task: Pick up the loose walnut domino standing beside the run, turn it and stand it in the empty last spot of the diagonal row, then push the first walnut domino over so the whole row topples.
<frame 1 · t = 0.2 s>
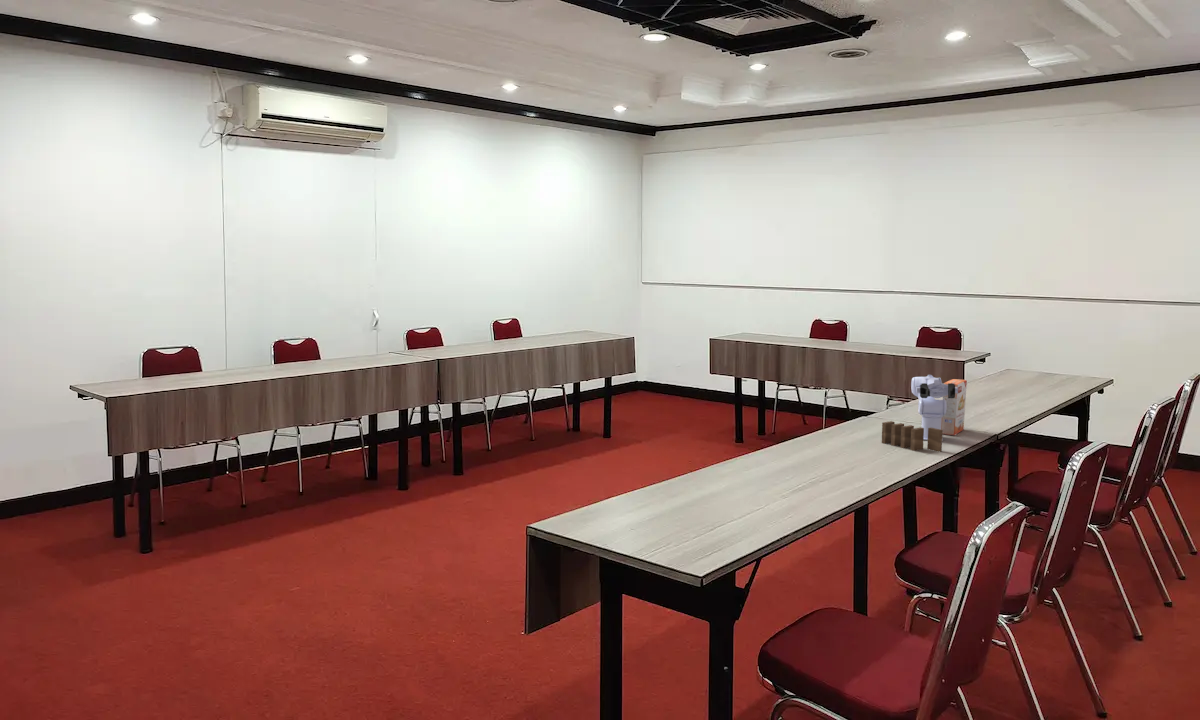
hand: (940, 393, 312), 21 cm above the table, tool horizontal, fingers open, 7 cm apart
domino 2: (906, 447, 319), on the table
domino 3: (897, 444, 323), on the table
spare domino: (934, 450, 315), on the table
domino 1: (916, 449, 316), on the table
domino 4: (887, 442, 327), on the table
cracker box: (952, 432, 344), on the table
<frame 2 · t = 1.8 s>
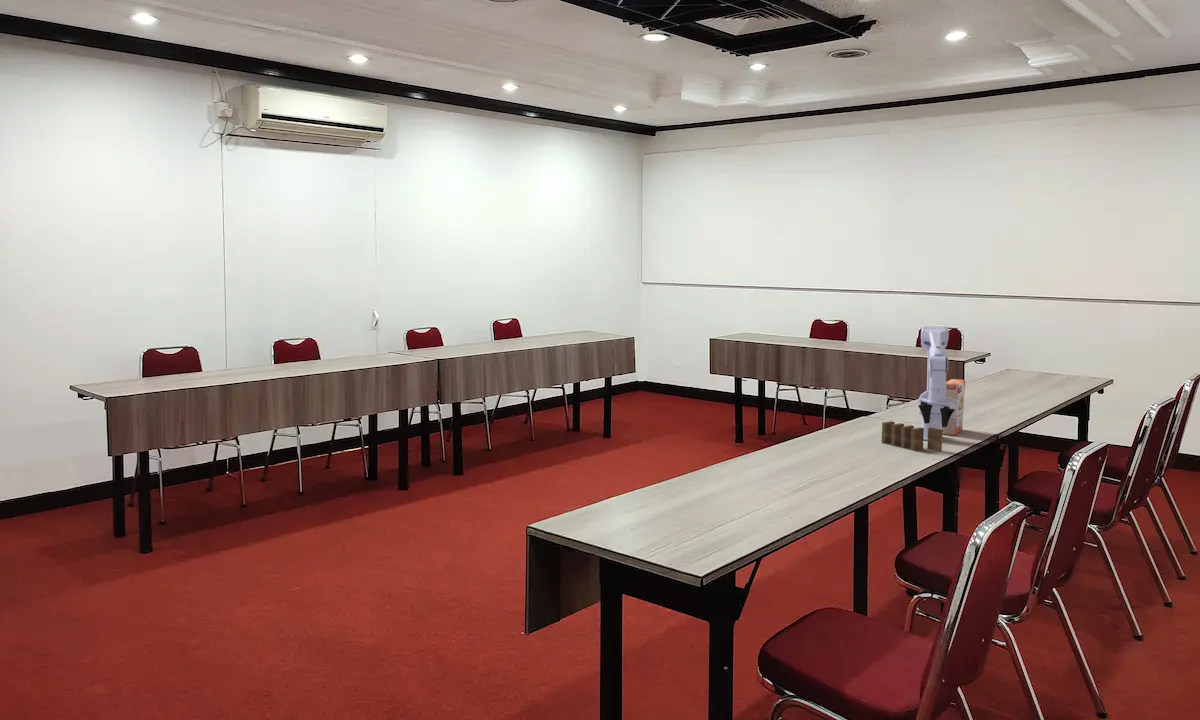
hand: (935, 425, 313), 9 cm above the table, tool pointing down, fingers open, 7 cm apart
nothing on the table moved.
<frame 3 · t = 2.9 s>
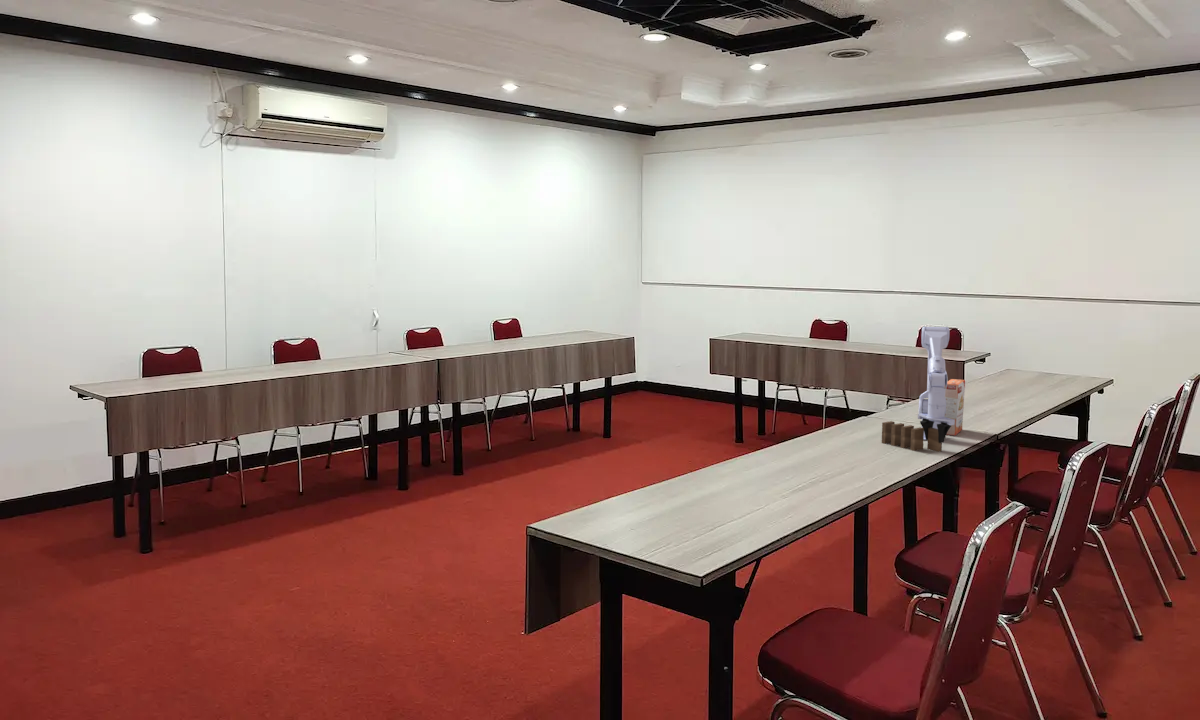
hand: (934, 441, 314), 3 cm above the table, tool pointing down, fingers closed on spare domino, 5 cm apart
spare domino: (934, 450, 315), on the table, touching gripper
everything else where it was.
when the fingers open (4 cm above the table, at t = 9.1 s): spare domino stays where it is, on the table.
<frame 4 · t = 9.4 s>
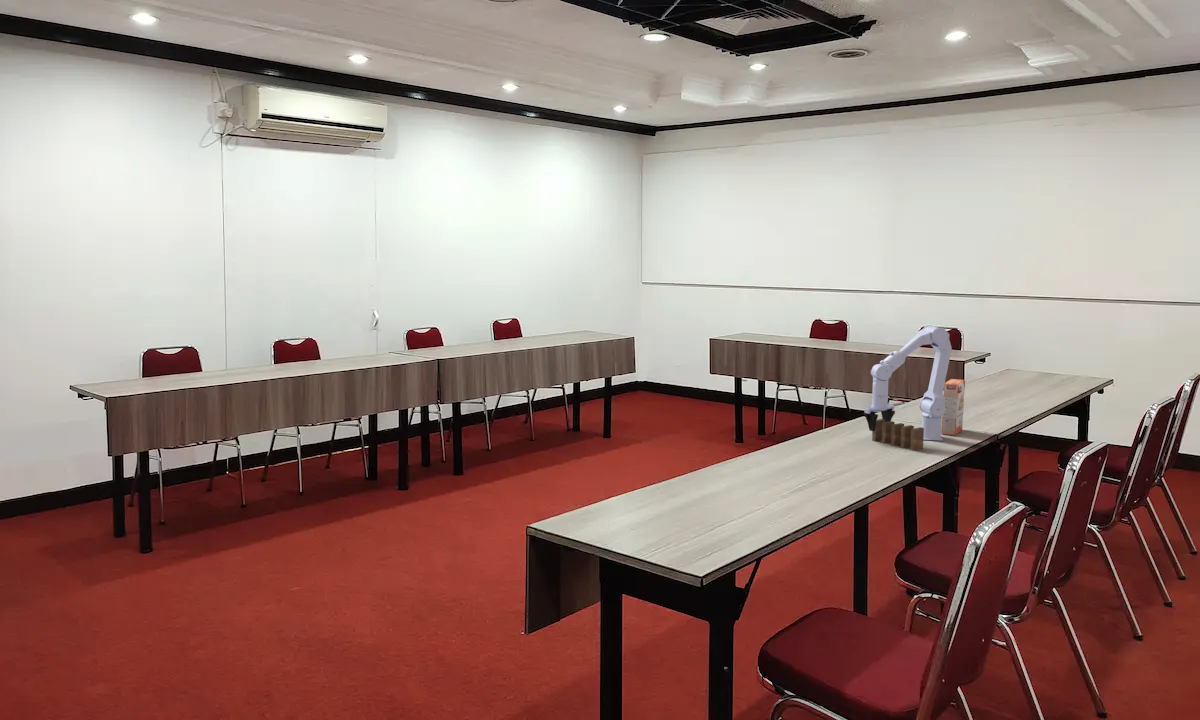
hand: (878, 429, 330), 4 cm above the table, tool pointing down, fingers open, 7 cm apart
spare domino: (878, 440, 331), on the table
everything else where it was.
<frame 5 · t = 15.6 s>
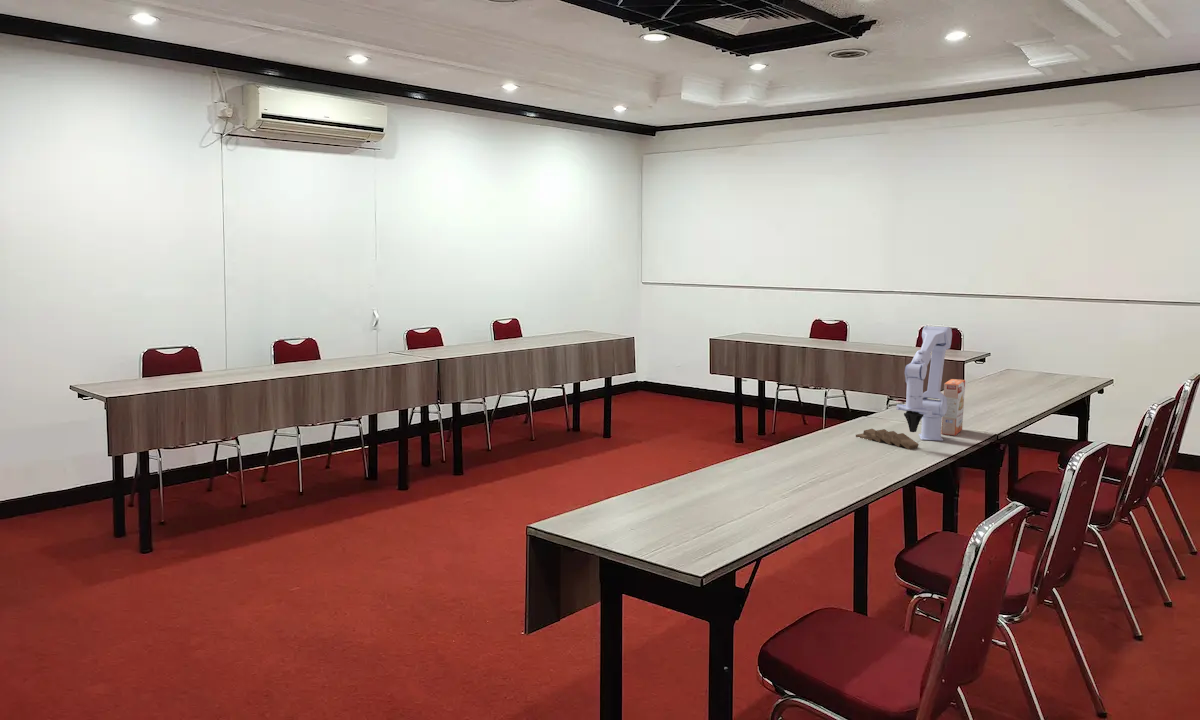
hand: (913, 431, 316), 6 cm above the table, tool pointing down, fingers closed
domino 2: (903, 444, 321), point 1 cm above the table, tilted 69°, touching domino 1, domino 3
domino 3: (894, 442, 324), point 1 cm above the table, tilted 70°, touching domino 2
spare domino: (876, 439, 332), on the table, tilted 90°
domino 1: (913, 446, 317), point 1 cm above the table, tilted 69°, touching domino 2
domino 4: (884, 439, 329), point 1 cm above the table, tilted 77°
everything else where it was.
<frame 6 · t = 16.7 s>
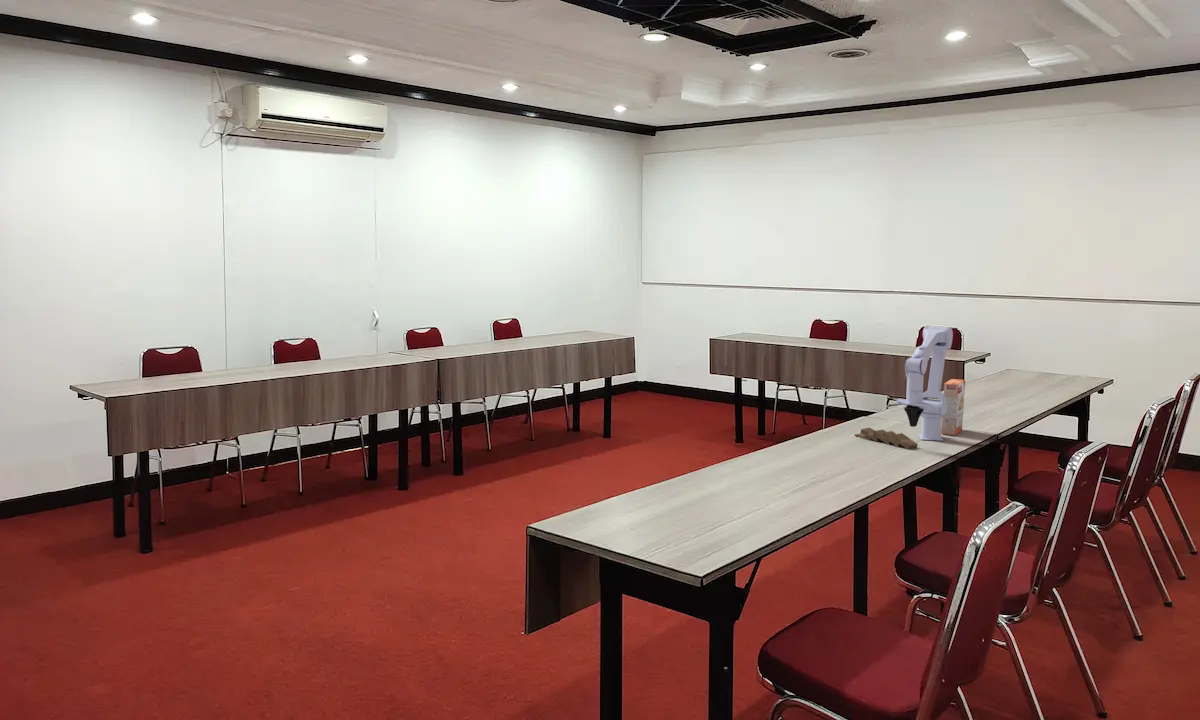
hand: (913, 426, 316), 8 cm above the table, tool pointing down, fingers closed
domino 3: (893, 442, 325), point 1 cm above the table, tilted 72°, touching domino 2, domino 4
domino 4: (880, 438, 329), point 1 cm above the table, tilted 75°, touching domino 3
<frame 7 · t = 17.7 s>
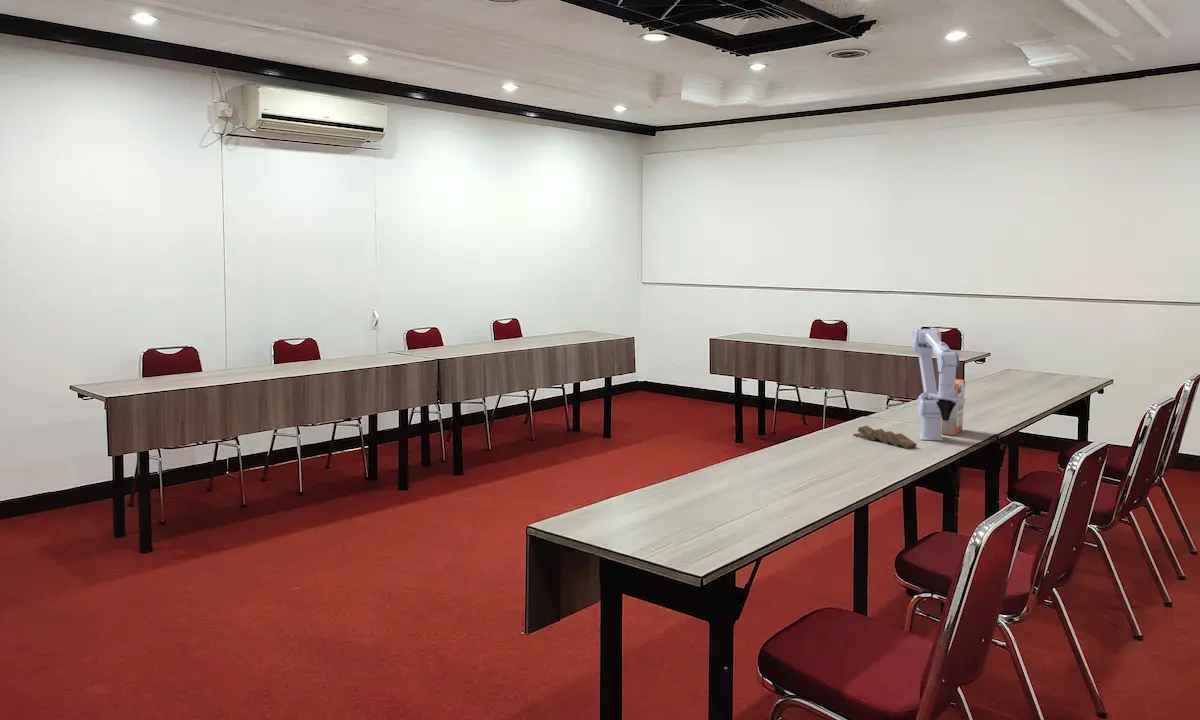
hand: (945, 420, 317), 10 cm above the table, tool pointing down, fingers closed
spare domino: (873, 438, 333), on the table, tilted 90°, touching domino 4
domino 4: (878, 437, 330), point 1 cm above the table, tilted 72°, touching domino 3, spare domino
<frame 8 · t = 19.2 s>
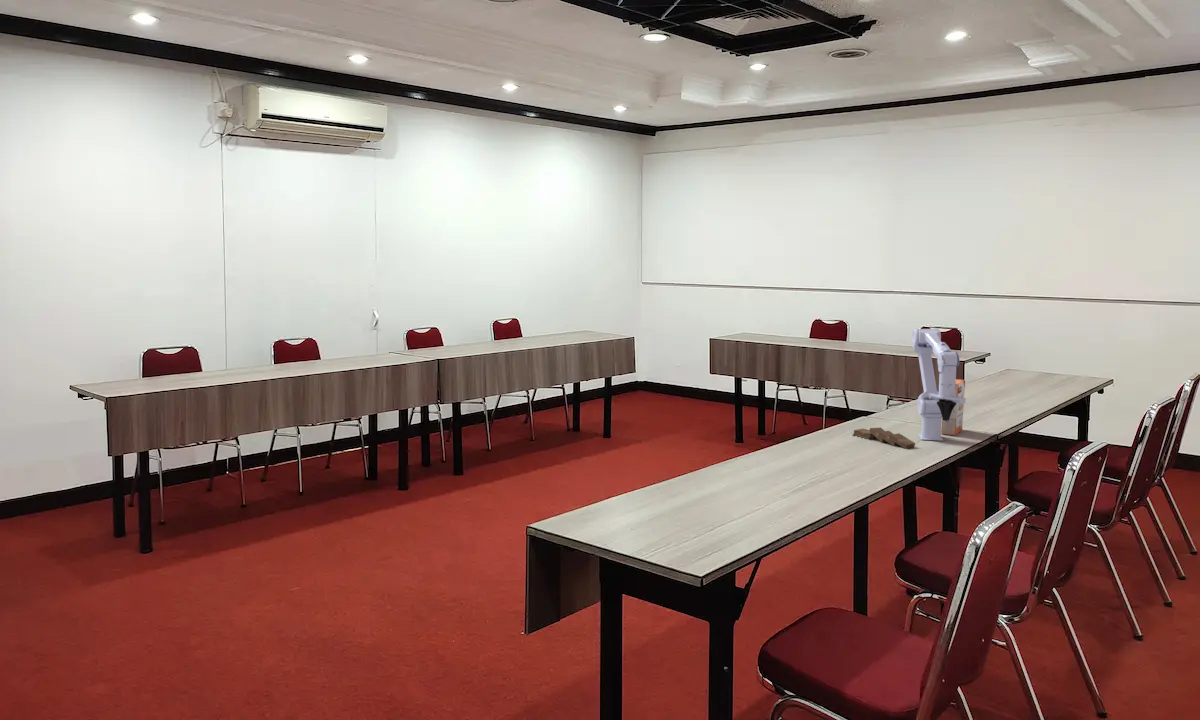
hand: (945, 420, 317), 10 cm above the table, tool pointing down, fingers closed
domino 2: (898, 443, 322), point 1 cm above the table, tilted 72°, touching domino 1
domino 3: (887, 440, 327), point 1 cm above the table, tilted 71°
domino 4: (874, 435, 333), point 2 cm above the table, tilted 90°, touching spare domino
at the end: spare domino tilted 90°; domino 1 tilted 73°; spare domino inside the target area (3.0 cm from its centre), on the table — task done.
